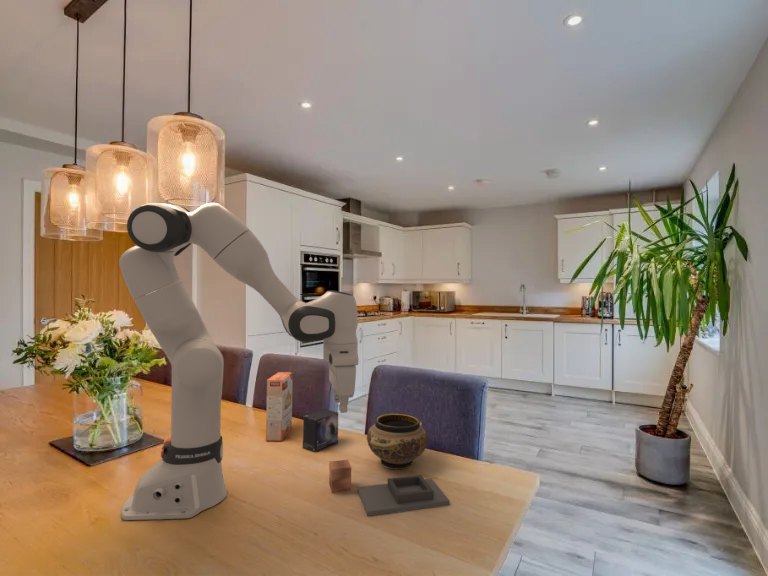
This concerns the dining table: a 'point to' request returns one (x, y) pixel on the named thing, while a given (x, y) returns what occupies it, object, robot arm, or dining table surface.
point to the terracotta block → (340, 476)
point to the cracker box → (279, 406)
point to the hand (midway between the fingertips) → (340, 406)
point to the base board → (401, 495)
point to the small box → (320, 430)
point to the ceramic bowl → (397, 439)
